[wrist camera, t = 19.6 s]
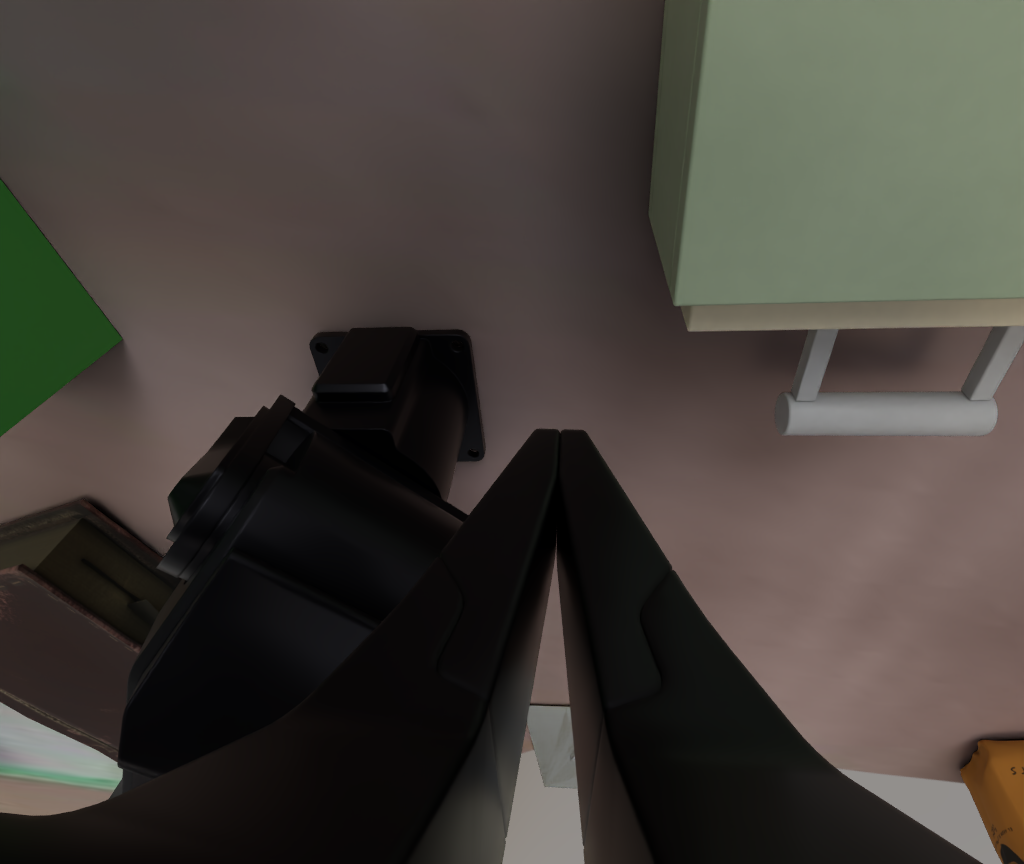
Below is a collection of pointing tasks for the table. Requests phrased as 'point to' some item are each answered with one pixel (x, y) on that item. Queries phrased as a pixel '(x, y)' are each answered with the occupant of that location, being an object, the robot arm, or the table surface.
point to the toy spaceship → (553, 744)
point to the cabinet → (840, 151)
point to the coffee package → (999, 794)
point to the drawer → (879, 409)
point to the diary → (75, 619)
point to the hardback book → (40, 318)
